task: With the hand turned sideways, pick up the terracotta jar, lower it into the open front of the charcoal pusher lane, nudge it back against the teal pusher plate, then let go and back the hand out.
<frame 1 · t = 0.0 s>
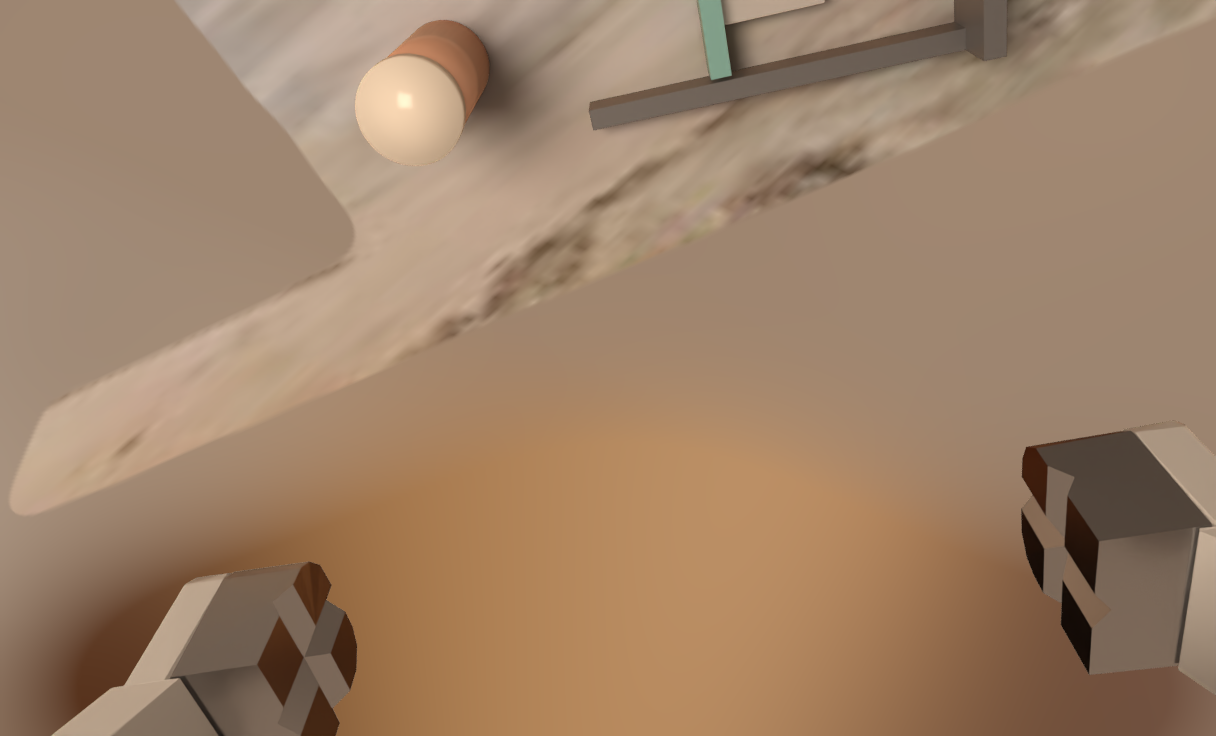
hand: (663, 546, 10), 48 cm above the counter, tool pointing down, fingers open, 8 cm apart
terracotta jar: (446, 65, 54), on the counter
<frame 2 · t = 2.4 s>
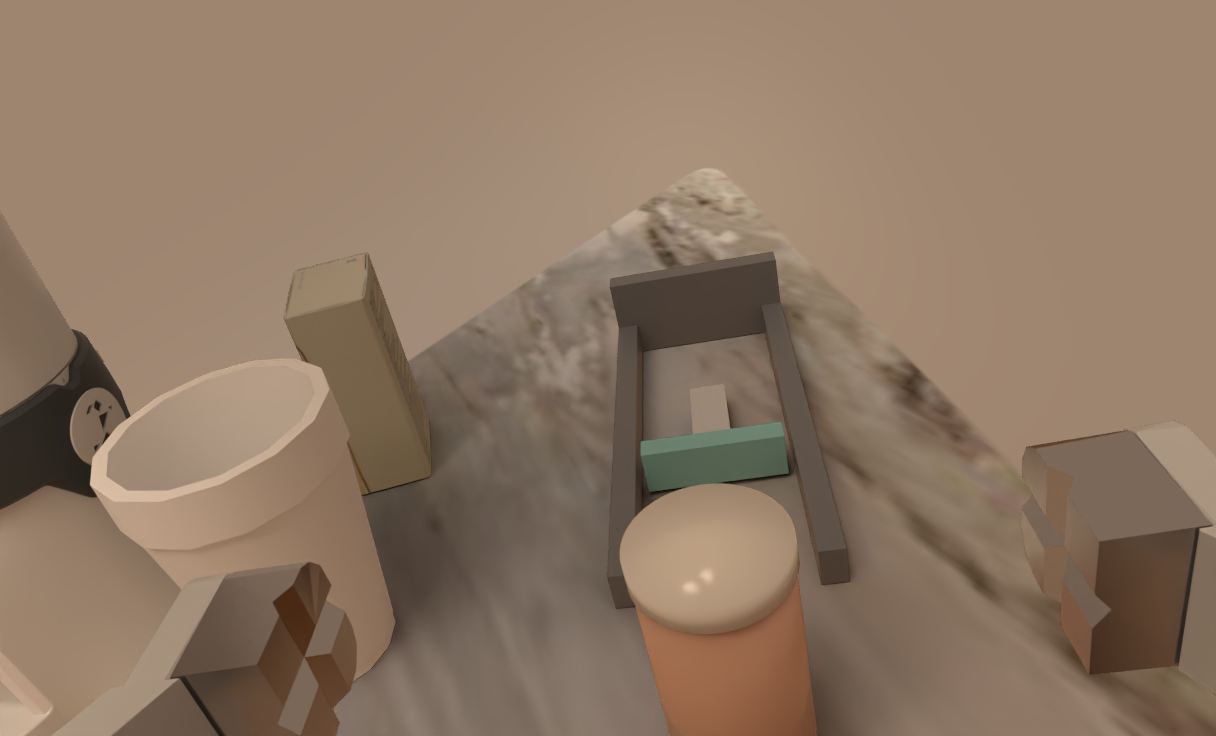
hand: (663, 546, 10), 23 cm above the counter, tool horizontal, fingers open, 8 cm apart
pusher lane: (714, 444, 49), on the counter
pusher plate: (710, 423, 48), point 2 cm above the counter, slide at 0.0 cm
foam cup: (331, 644, 42), on the counter
skincare box: (399, 460, 54), on the counter
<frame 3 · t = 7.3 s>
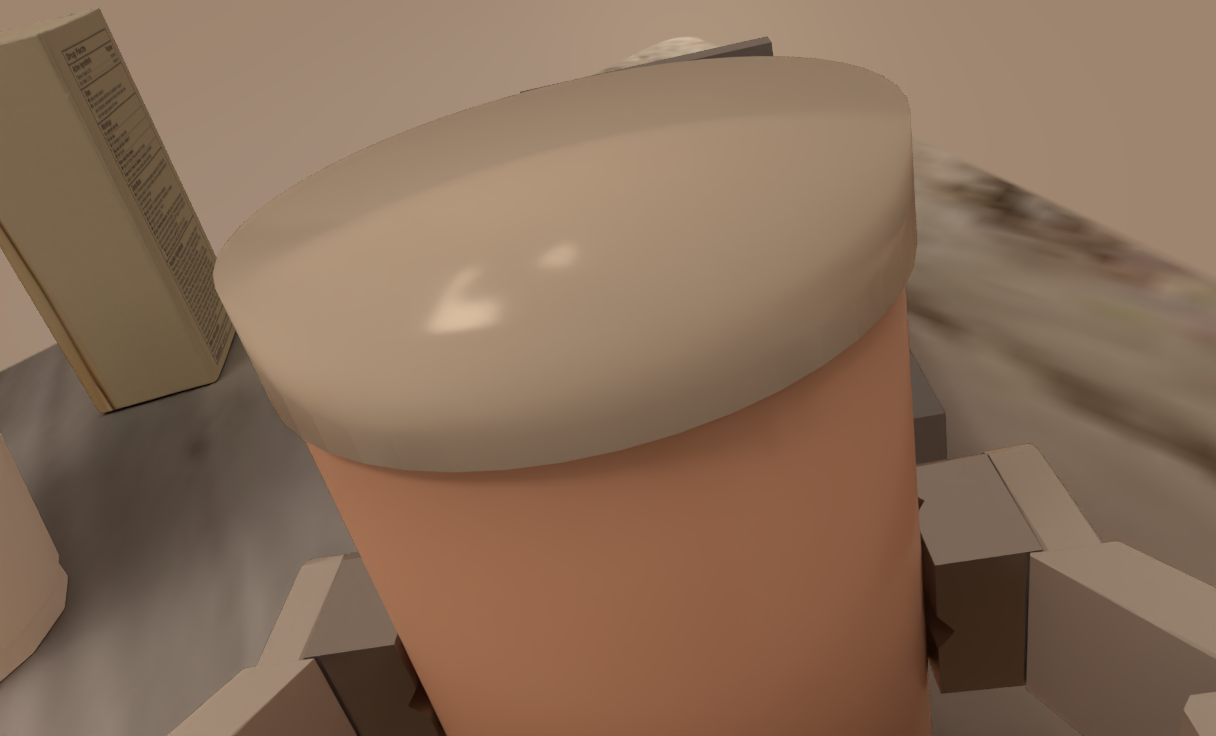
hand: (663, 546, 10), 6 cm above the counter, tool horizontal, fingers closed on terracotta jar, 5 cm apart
pusher lane: (677, 302, 29), on the counter
skincare box: (182, 366, 34), on the counter
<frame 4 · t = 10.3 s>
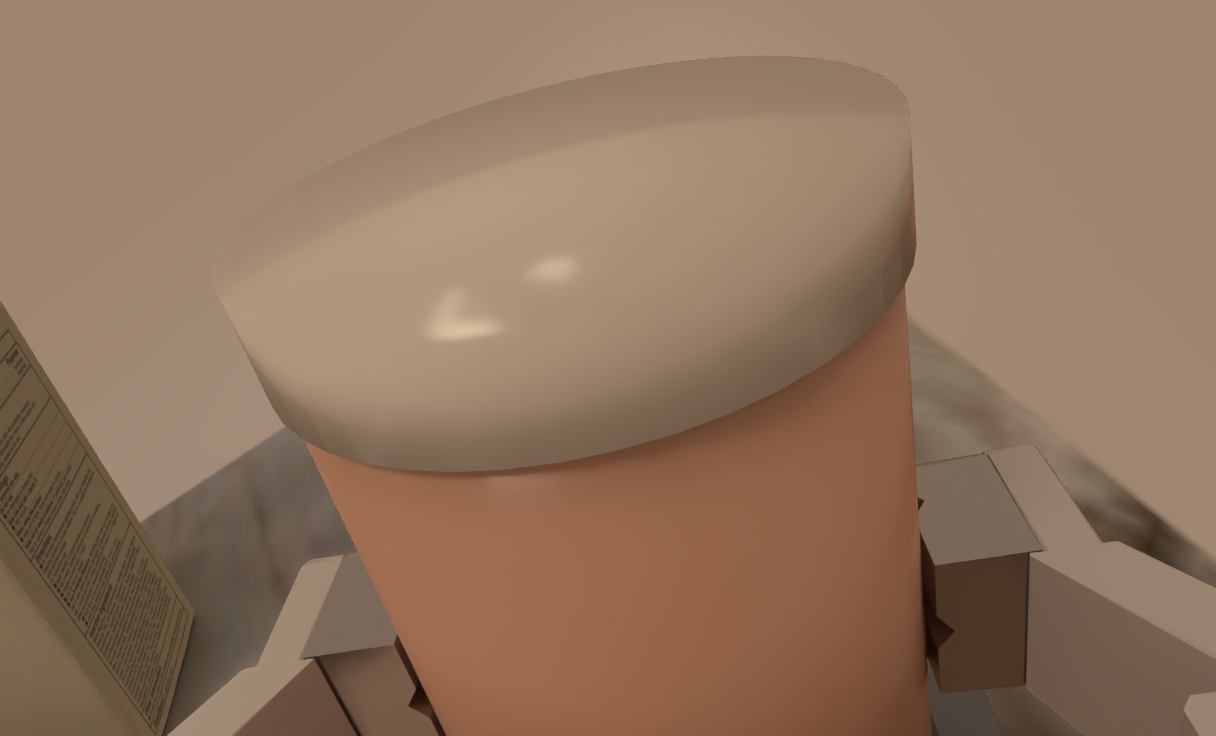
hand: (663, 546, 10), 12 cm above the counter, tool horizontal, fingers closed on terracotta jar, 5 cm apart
pusher lane: (742, 703, 22), on the counter
skincare box: (117, 708, 27), on the counter
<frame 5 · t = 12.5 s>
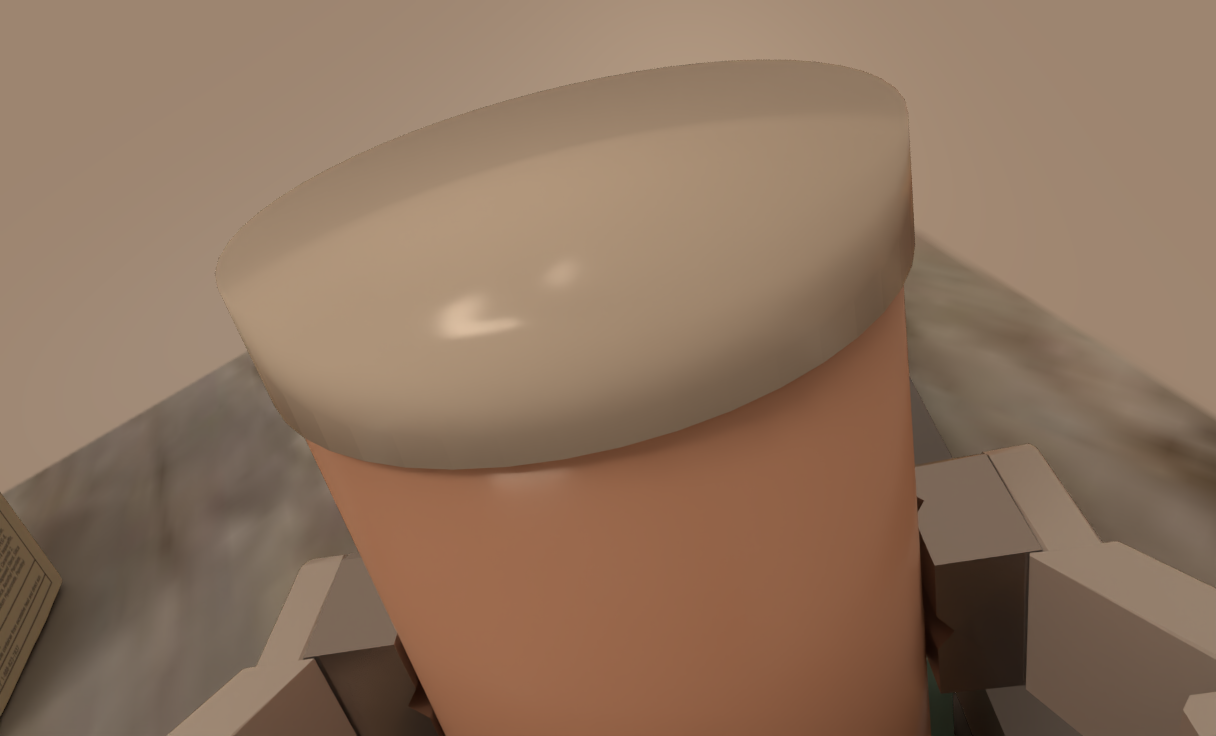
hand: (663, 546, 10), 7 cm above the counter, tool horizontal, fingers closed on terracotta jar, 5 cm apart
pusher lane: (727, 688, 17), on the counter
pusher plate: (708, 573, 17), point 1 cm above the counter, slide at 1.6 cm, touching terracotta jar
when the fingers open (7 cm above the counter, at t = 13.4 s): terracotta jar stays where it is, resting in pusher lane.
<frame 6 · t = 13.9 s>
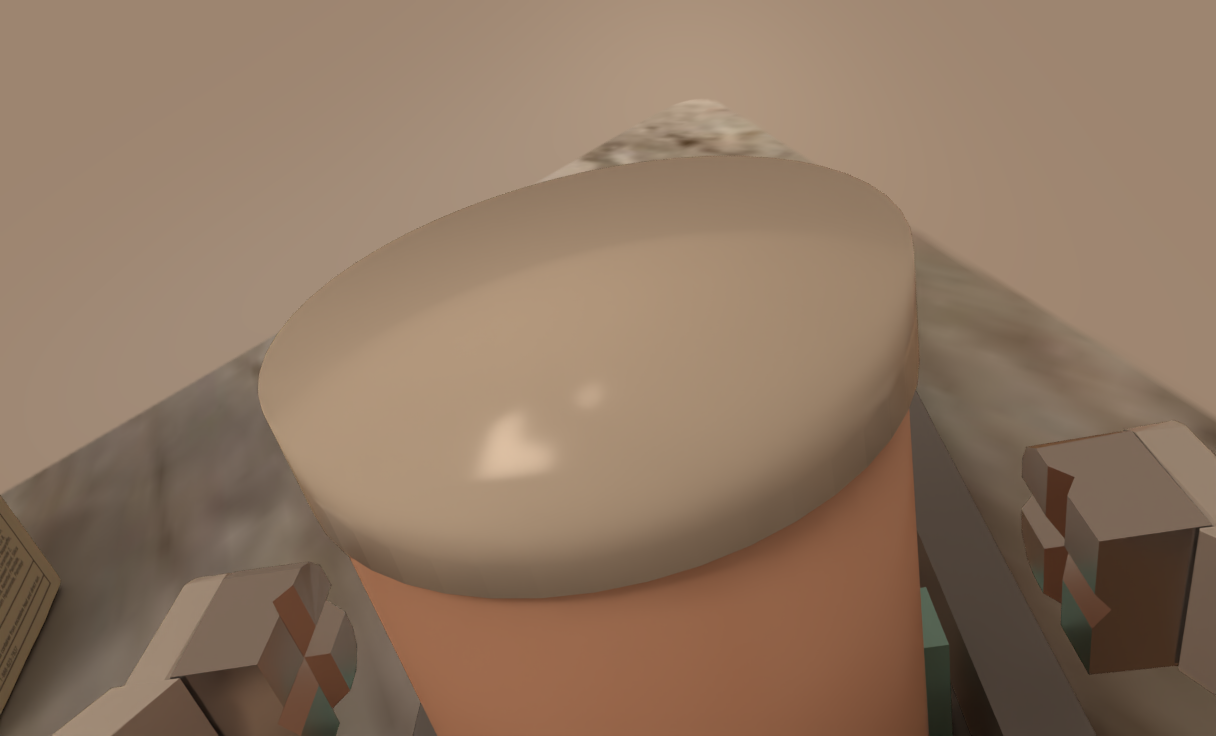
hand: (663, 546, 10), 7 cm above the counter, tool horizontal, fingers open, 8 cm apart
pusher lane: (726, 689, 17), on the counter
pusher plate: (707, 573, 18), point 2 cm above the counter, slide at 1.7 cm
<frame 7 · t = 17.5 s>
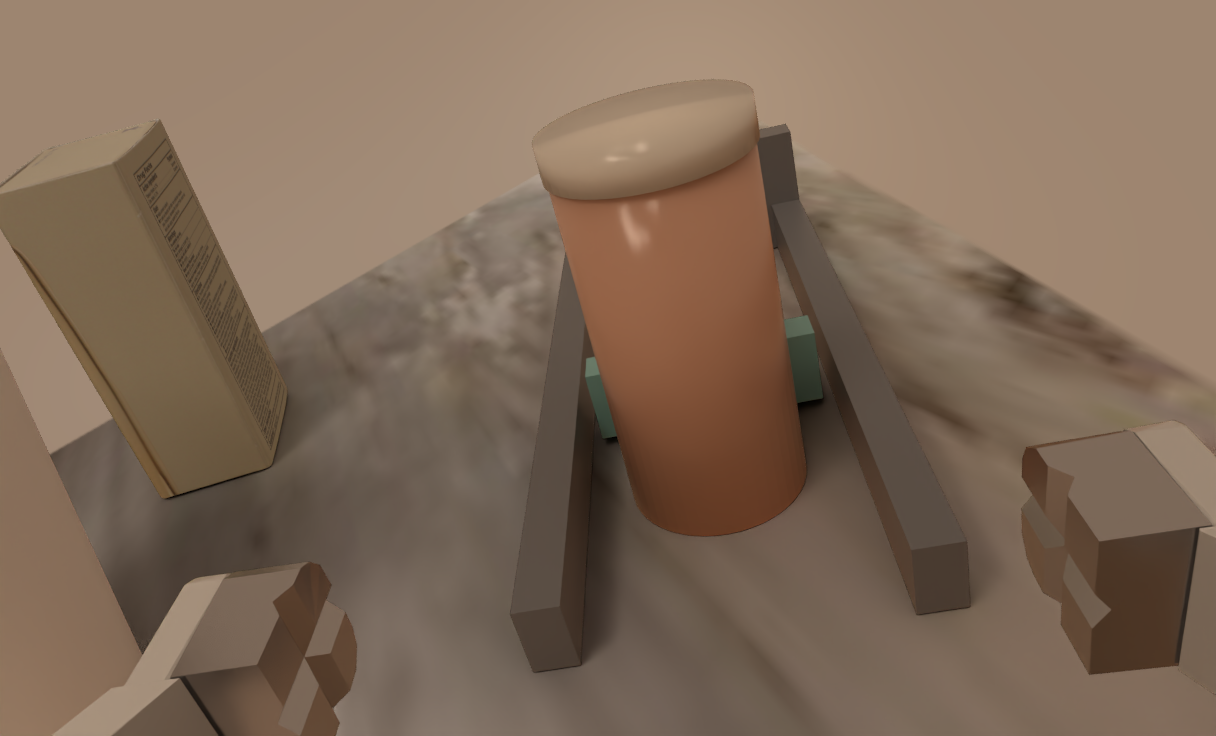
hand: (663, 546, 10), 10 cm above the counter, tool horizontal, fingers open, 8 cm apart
pusher lane: (708, 394, 31), on the counter
pusher plate: (697, 335, 31), point 1 cm above the counter, slide at 1.7 cm
terracotta jar: (718, 476, 27), resting in pusher lane
skincare box: (235, 447, 36), on the counter
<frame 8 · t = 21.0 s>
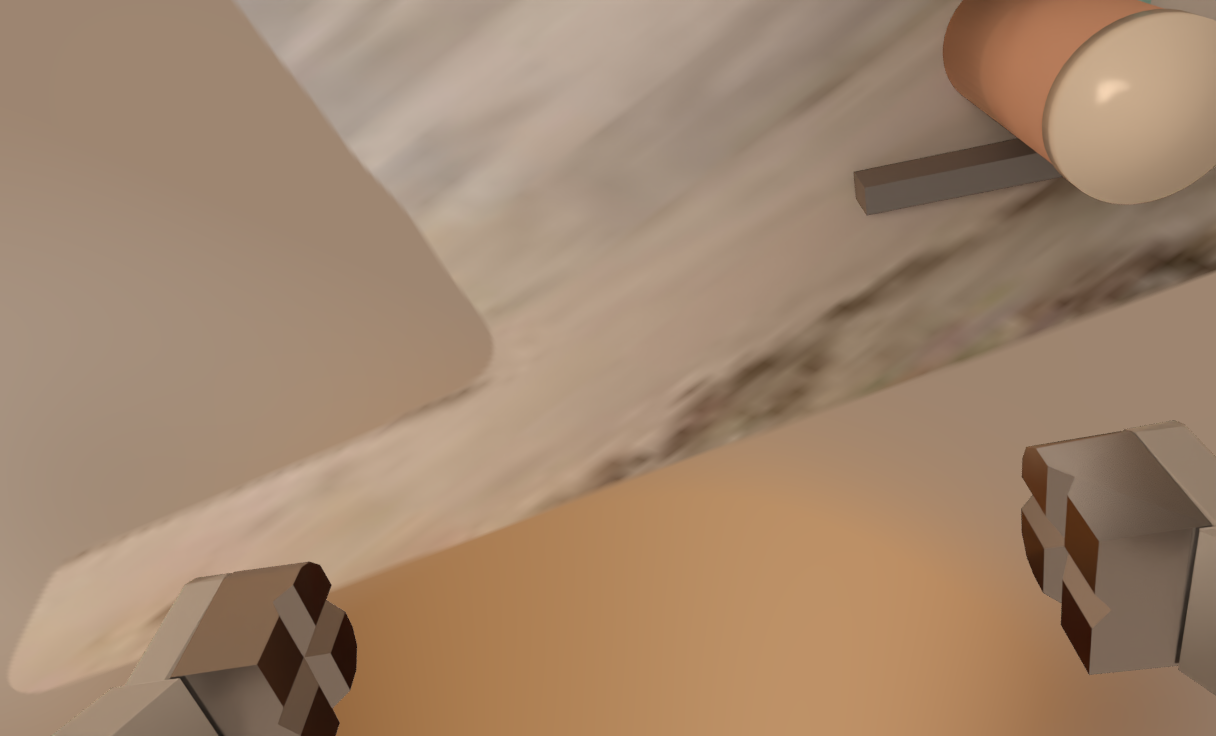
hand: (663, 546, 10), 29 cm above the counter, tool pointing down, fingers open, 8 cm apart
pusher lane: (1132, 14, 34), on the counter
pusher plate: (1197, 12, 33), point 1 cm above the counter, slide at 1.7 cm
terracotta jar: (1010, 39, 35), resting in pusher lane
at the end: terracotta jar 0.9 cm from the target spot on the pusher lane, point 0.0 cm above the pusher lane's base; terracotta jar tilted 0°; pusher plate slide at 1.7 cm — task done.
